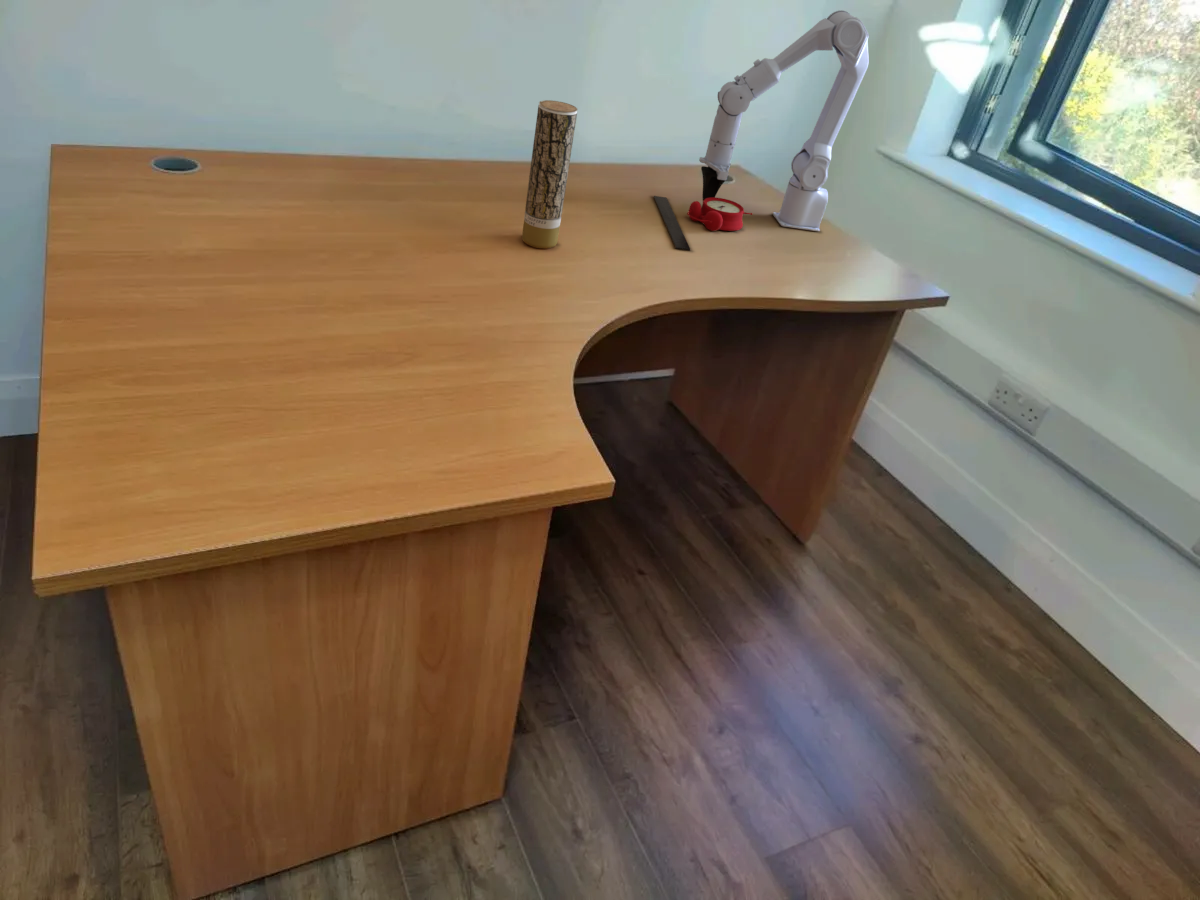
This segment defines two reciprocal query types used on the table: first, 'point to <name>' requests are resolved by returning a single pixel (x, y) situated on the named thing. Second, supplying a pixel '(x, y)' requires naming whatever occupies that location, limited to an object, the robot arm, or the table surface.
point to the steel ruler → (671, 223)
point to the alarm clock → (718, 214)
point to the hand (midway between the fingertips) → (707, 201)
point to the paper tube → (548, 173)
